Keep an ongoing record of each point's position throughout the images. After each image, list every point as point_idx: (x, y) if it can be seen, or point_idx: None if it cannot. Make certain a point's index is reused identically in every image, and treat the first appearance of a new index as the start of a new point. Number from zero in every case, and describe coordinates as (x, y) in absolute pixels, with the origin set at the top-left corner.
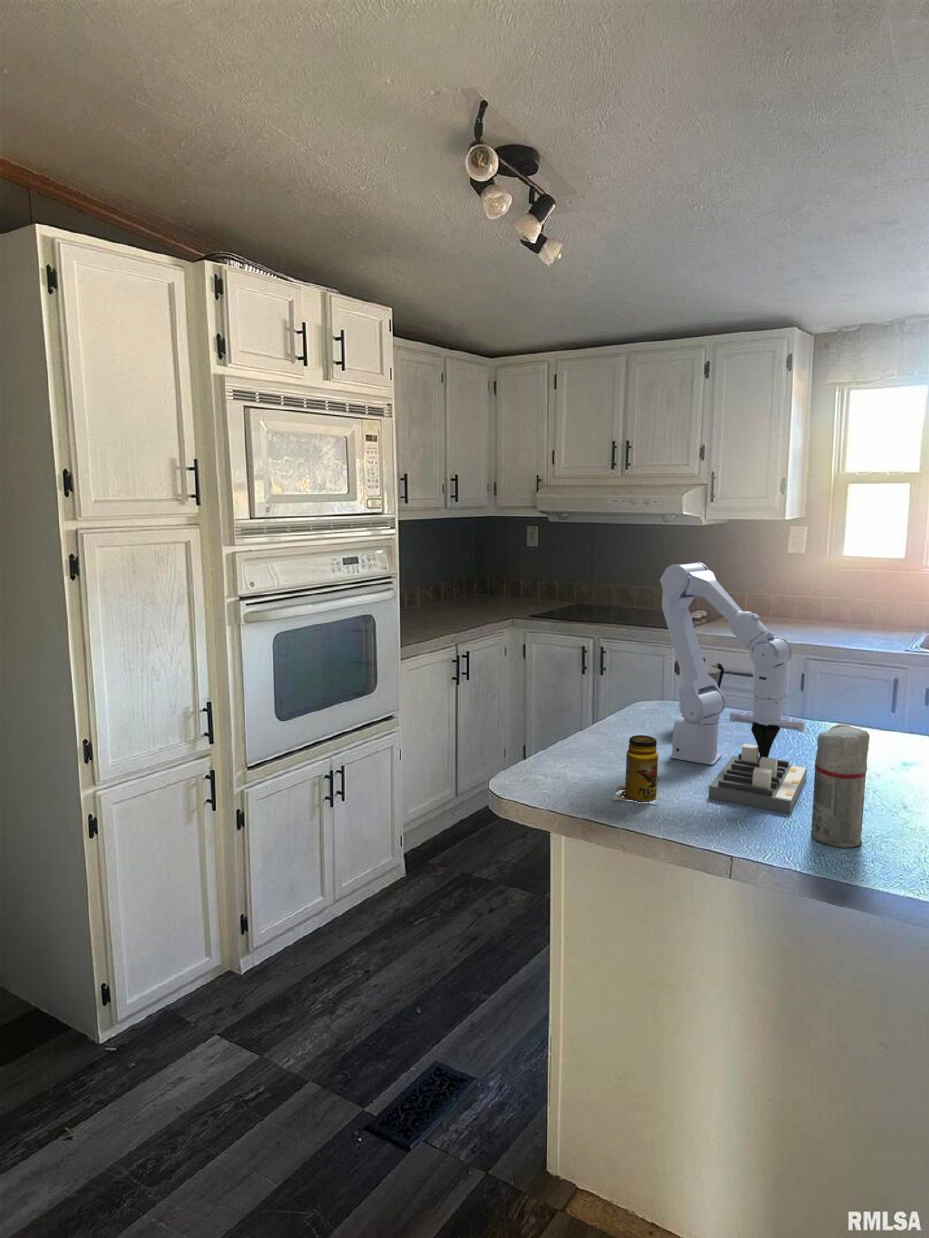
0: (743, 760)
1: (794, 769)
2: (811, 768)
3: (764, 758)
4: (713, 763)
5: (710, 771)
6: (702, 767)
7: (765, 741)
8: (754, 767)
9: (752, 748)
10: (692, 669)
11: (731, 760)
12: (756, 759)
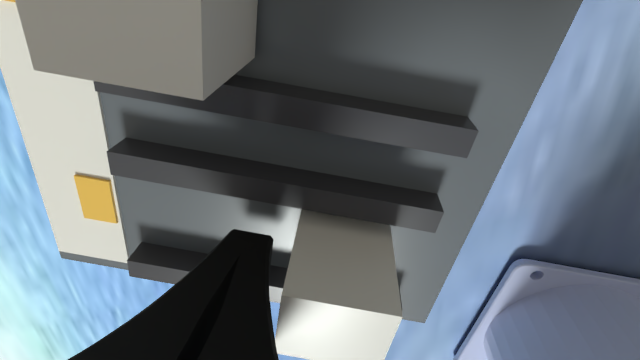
0: (378, 235)
1: (93, 207)
2: (120, 318)
3: (165, 47)
4: (517, 266)
5: (547, 183)
6: (579, 226)
7: (174, 346)
8: (301, 108)
9: (318, 300)
10: None
11: (443, 256)
12: (295, 237)
